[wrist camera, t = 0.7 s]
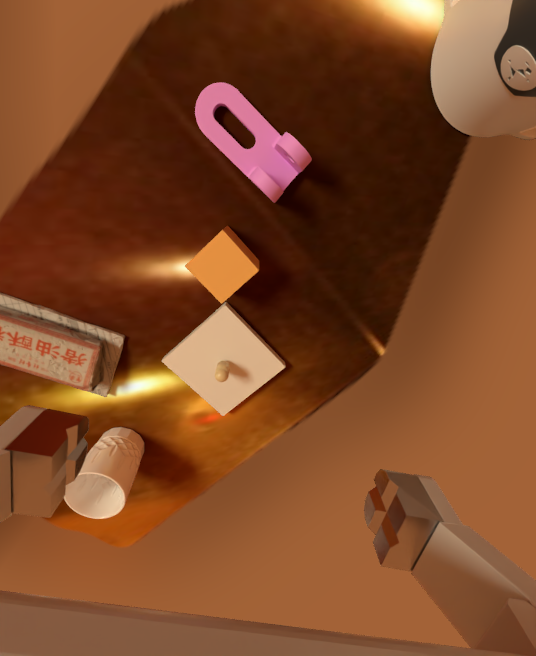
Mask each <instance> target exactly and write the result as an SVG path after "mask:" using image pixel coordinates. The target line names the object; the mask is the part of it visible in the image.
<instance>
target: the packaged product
mask: <svg viewBox="0 0 536 656" xmlns="http://www.w3.org/2000/svg"><path fill="white" fill-rule="evenodd" d="M124 337H125V335H122V334H119V333H117V332H114V331H111V330H108V329H105V328H102V327H99V326H96V325H93V324H89V323H86V322H84V321H81V320H78V319H76V318H73V317H70V316H67V315H64V314H61V313H59V312H57V311H54V310H52V309H49V308H45V307H43V306H39V305H35V304H32V303H29V302H26V301H24V300H21V299H18V298H15V297H12V296H9V295H6V294H3V293H0V364H1V365H3V366H8V367H11V368H15V369H17V370H20V371H24V372H27V373H30V374H33V375H36V376H40V377H43V378H46V379H49V380H52V381H55V382H59V383H62V384H65V385H69V386H72V387H75V388H77V389H81V390H84V391H88V392H92V393H95V394H98V395H101V396H104V397H107V394H108V392H109V390H110V388H111V385H112V381H113V378H114V374H115V370H116V367H117V364H118V361H119V358H120V355H121V352H122V349H123V343H124Z"/></svg>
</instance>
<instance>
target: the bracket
mask: <svg viewBox="0 0 536 656" xmlns="http://www.w3.org/2000/svg"><path fill="white" fill-rule="evenodd" d="M220 106H224V107H227V108H228V109H229V110H230V111H231V112H232V113H233V114H234V115H235V116H236V117H237V118H238V119H239V121H240V122H241V123H242V124H243V125H244V126H245V127H246V128H247V129H248V130H249V131H250V132H251V133H252V134H253V135H254V136H255V138H256V143H255V145H254V147H253V148H251V149H244V148H243V147H242V146H241V145H240V144H239V143H238V142H237V141H236V140H235V139H234V138H233V137H232V136H231V135H230V134H229V133H228V132H227V131H226V130H225V129H224V128H223V127H222V126H221V125H220V124H219V123H218V122H217V121H216V120H215V118H214V113H215V110H216V109H217V108H218V107H220ZM195 115H196V120H197V123H198V126H199V128H200V129H201V131H202V132H203V133H204V134H205V136H206V137H207V138H208V139H209V140H210V141H211V142H212V143H214V144H215V145H216V146H217V147H218V148H219V149H220V150H221V151H222V152H223V153H224V154H225V155H226V156H227V157H228V158H229V159H230V160H231V161H232V162H233V163H234V164H235V165H236V166H237V167H238V168H239V169H240V170H241V171H242V172H243V173H244V174H245V175H246V176H247V177H248V178H249V179H250V180H251V181H252V182H253V183H254V184H255V185H256V186H257V187H258V188H259V189H260V190H261V191H262V192H263V193H264V194H266V195H267V196H268V197H269V198H270V199H271V200H272V201H273V202H274V203H275V202H276V201H277V200H278V199H279V197H280V196H281V195H282V194H283V193H284V192H283V191H284V190H285V188H286V187H287V186H288V185H289V184H290V183H291V181H292V180H293V179H294V178H295V177H296V176H297V175H298V173H300V172H302V171H303V170H304V169H305V167H306V166H307V165H308V164H309V163H310V162H311V161H312V158H311V156H310V155H309V153H308V152H307V151H306V150H305V148H304V147H303V146H302V145H301V144H300V143H299V142H298V141H297V140H296V139H295V138H294V137H293V136H292V135H290V134H289V133H287V132H286V133H285V134H284V135H283V136H281V135H280V134H279V133H278V132H277V131H276V130H275V129H274V128H273V127H272V126H271V125H270V124H269V123H268V122H267V121H266V120H265V118H264V117H263V116H262V115H261V114H260V113H259V112H258V111H257V110H256V109H255V108H254V107H253V106H252V105H251V104H250V103H249V102H248V101H247V99H246V98H245V97H244V96H243V95H242V94H241V93H240V92H239V91H238V90H237V89H236V88H234V87H233V86H231V85H229V84H226V83H214V84H211V85H209V86H207V87H206V88H205V89H204V90H203V91H202V92H201V93H200V95H199V97H198V99H197V102H196V108H195Z"/></svg>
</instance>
